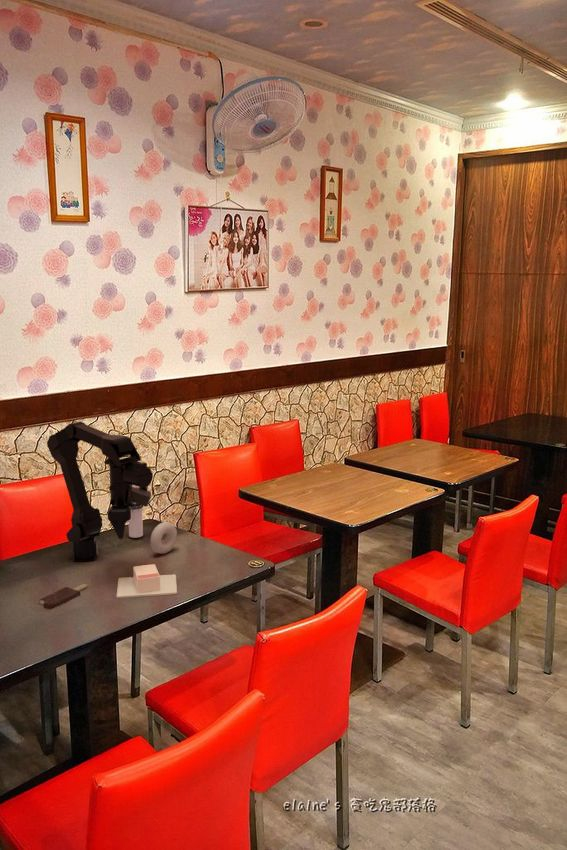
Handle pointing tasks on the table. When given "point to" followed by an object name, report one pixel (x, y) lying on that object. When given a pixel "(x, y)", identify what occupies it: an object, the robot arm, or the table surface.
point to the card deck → (146, 578)
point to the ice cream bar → (61, 596)
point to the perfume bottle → (136, 520)
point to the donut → (169, 541)
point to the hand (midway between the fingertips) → (121, 532)
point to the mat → (129, 590)
